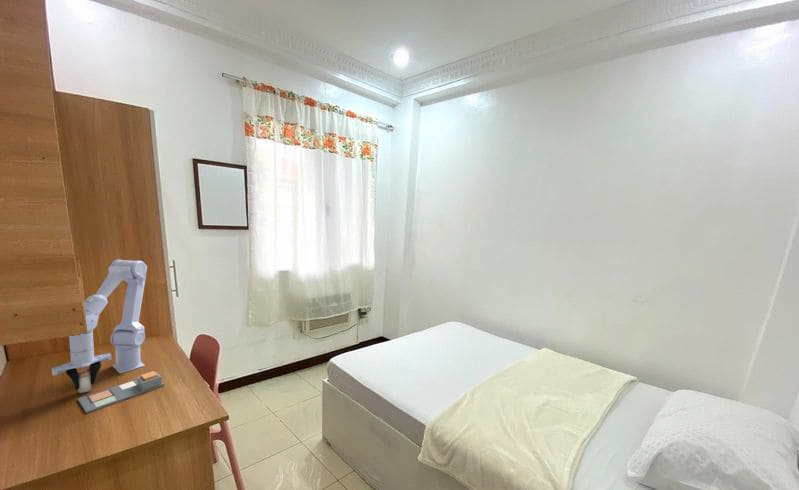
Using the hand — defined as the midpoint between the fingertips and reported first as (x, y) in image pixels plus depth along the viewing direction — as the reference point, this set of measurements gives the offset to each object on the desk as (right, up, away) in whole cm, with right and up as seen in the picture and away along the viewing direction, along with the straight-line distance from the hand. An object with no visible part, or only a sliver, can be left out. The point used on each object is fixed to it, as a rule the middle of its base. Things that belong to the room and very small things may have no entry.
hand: (84, 385), depth 111 cm
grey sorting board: (+13, -3, +1) cm, 13 cm away
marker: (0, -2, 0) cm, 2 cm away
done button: (+18, -1, +5) cm, 19 cm away
